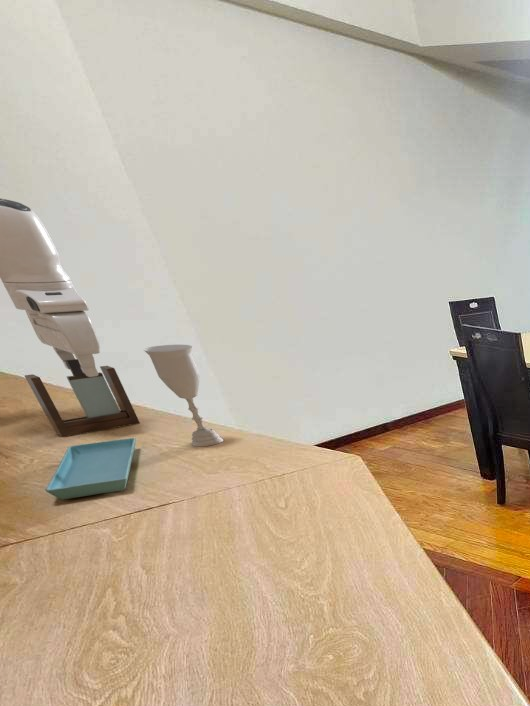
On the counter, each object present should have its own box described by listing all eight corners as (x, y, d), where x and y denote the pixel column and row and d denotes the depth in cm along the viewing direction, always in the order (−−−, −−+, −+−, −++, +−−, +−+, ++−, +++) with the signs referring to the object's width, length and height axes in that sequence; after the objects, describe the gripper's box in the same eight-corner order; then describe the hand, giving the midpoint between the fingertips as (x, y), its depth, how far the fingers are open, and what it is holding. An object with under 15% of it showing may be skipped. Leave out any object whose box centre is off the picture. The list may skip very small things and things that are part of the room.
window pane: (90, 422, 120) (60, 361, 114) (88, 421, 120) (58, 360, 115) (122, 416, 124) (94, 357, 118) (120, 415, 124) (92, 357, 118)
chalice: (183, 440, 117) (141, 346, 108) (225, 434, 121) (189, 343, 113) (187, 450, 113) (144, 353, 104) (231, 443, 117) (194, 349, 108)
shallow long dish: (73, 456, 108) (66, 443, 106) (140, 447, 113) (134, 435, 112) (52, 505, 90) (43, 490, 89) (133, 492, 95) (126, 478, 94)
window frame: (62, 437, 116) (30, 378, 111) (55, 433, 118) (24, 375, 112) (140, 423, 125) (114, 367, 120) (133, 420, 127) (107, 365, 121)
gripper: (3, 294, 113) (42, 367, 120) (40, 304, 104) (80, 383, 111) (49, 292, 118) (84, 363, 124) (89, 301, 109) (124, 377, 116)
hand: (83, 372), depth 117 cm, fingers open, 8 cm apart
